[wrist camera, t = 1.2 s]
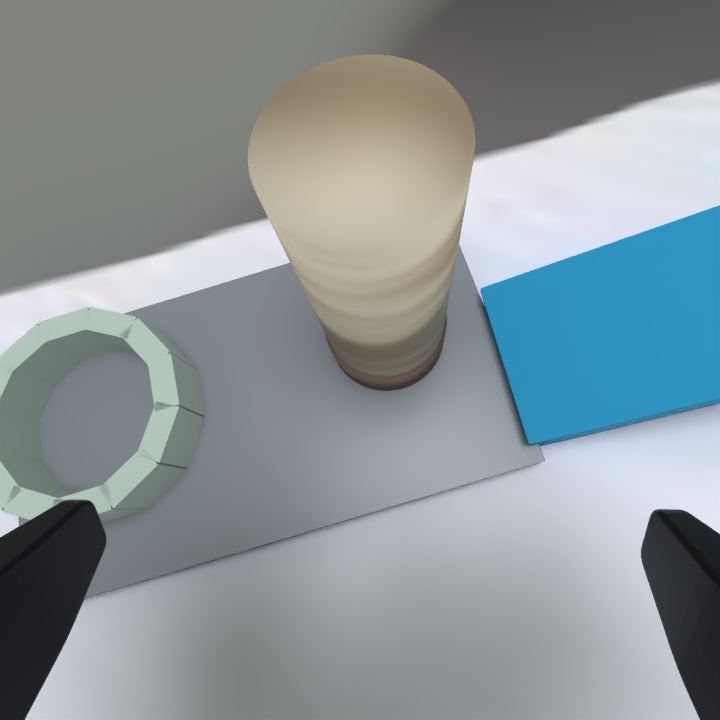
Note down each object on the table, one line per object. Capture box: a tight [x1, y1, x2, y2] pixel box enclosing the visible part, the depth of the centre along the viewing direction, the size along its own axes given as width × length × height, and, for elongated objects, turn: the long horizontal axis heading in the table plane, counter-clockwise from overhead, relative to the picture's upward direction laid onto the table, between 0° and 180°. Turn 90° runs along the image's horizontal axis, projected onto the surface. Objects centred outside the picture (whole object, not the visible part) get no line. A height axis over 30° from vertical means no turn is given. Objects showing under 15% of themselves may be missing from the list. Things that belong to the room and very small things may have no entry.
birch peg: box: [248, 55, 475, 391], centre depth 16 cm, size 5×5×12 cm
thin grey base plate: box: [0, 244, 545, 598], centre depth 21 cm, size 22×12×4 cm, turn 106°
